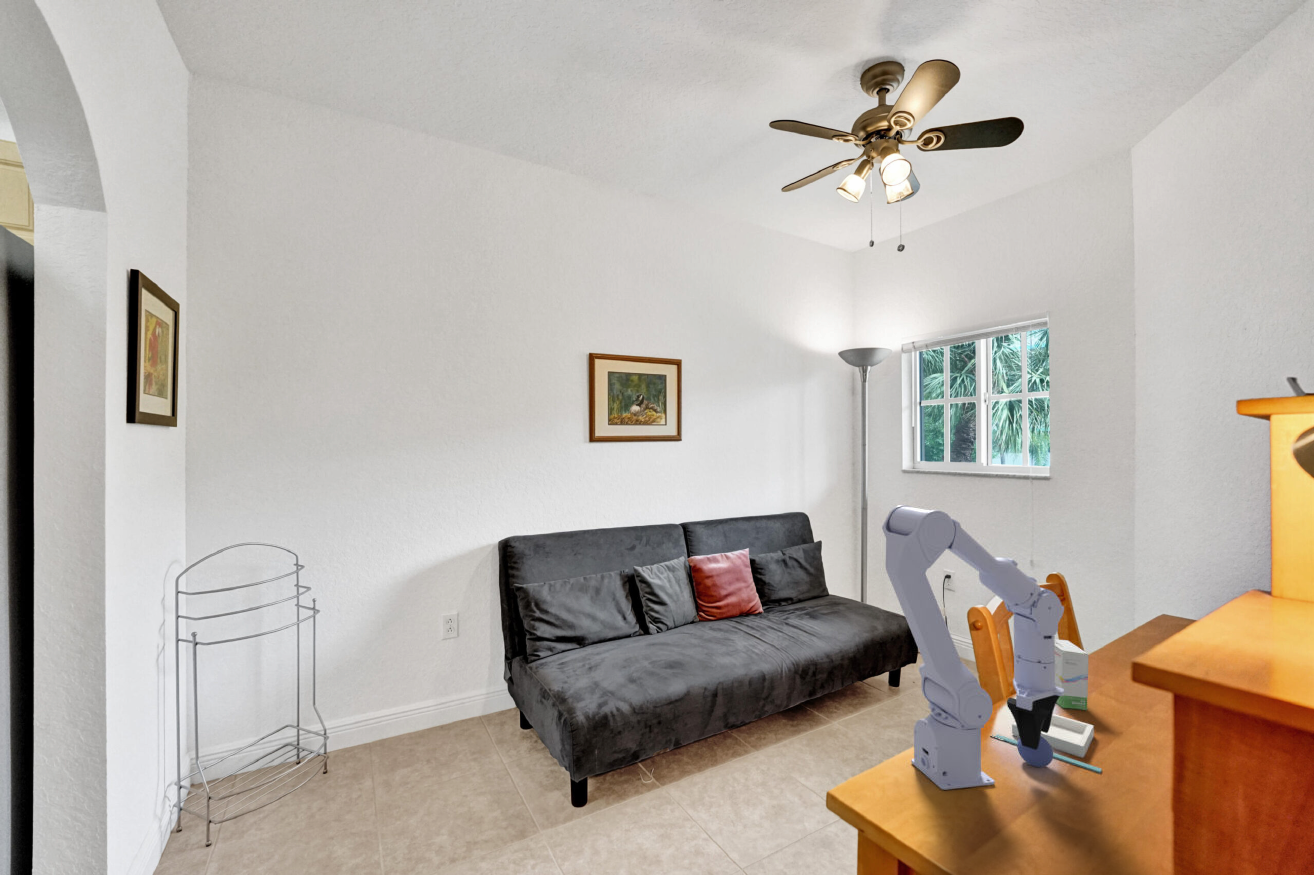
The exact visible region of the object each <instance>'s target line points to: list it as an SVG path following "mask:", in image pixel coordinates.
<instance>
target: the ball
mask: <svg viewBox="0 0 1314 875" xmlns="http://www.w3.org/2000/svg"><path fill="white" fill-rule="evenodd" d="M1017 741H1018V743H1017V745H1016V746H1017V751H1018V754H1019V755H1020V757H1021V758H1022V760H1023V761H1025V763H1027V764H1028V765H1030V766H1033V767H1034V768H1035V767H1036V768H1045V767H1047V766H1048V765H1050V764H1051V763H1052V761H1053V753H1054V751H1053V748H1051V746H1050V744H1049V743H1048V742H1047V740H1045V739H1044V738H1043V737H1041V736H1040V742H1039V746H1038V748H1037V750H1035V749H1032V748H1029V747H1025V746H1023V745H1022V743H1021V740H1020V737H1018V740H1017Z"/></svg>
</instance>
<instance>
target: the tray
mask: <svg viewBox="0 0 1314 875" xmlns="http://www.w3.org/2000/svg"><path fill="white" fill-rule="evenodd" d="M1094 726H1095V725H1094V724H1093V725H1092V724H1090V723H1087V722H1083V721H1079V720H1076V719H1072V718H1069V717H1066V716H1061V715H1058V714H1055V713H1053V714H1052V719H1051V724H1050V728H1049V731H1048V733H1045V732H1042V731H1041V737H1043V738H1044V739H1045V740H1047V742H1048V743H1049V744H1050V746H1051V748H1052V749H1054V750H1057V751H1060V752H1064V753H1066V754H1069V755H1073V756H1076V757H1078V758H1082V759H1084V758H1085V756H1086V754H1087V752H1088V749H1089V747H1090V746H1091V743H1092V741H1093V739H1094V737H1095V734H1094V733H1095V731H1094V730H1095V729H1094V728H1095V727H1094ZM1012 734H1013V735H1012ZM1011 735H1012V736H1014V735H1015V736H1014V737H1017V738H1020V737H1019V733H1018V729H1017V725H1016V722H1015V720H1014V721H1013V722H1012V723H1011Z"/></svg>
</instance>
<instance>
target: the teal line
mask: <svg viewBox="0 0 1314 875" xmlns="http://www.w3.org/2000/svg"><path fill="white" fill-rule="evenodd" d="M992 736H993V735H992ZM994 737H997V738H1000V739H1003V740H1004V741H1003V742H1005V741H1007V742H1006V743H1008V742H1010V743H1009V744H1011V743H1012V744H1011V745H1014V746H1017V743H1018V740H1016V739H1014V738H1013V739H1012V738H1010V737H1006V736H1003V735H1000V734H998V735H996V736H994ZM1053 758H1054V759H1056V760H1059V761H1062V762H1066V763H1068V764H1071V765H1073V766H1074V765H1075V766H1078V767H1080V768H1083V769H1085V770H1088V771H1091V772H1095V773H1098V774H1102V768H1101V767H1097V766H1095V765H1092V764H1089V763H1085V762H1082V761H1079V760H1076V759H1073V758H1070V757H1068V756H1064V755H1061V754H1058V753H1054V752H1053Z"/></svg>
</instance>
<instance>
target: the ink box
mask: <svg viewBox="0 0 1314 875" xmlns="http://www.w3.org/2000/svg"><path fill="white" fill-rule="evenodd" d="M1055 685H1056V687H1059V688H1062V689H1064V695H1063V696H1060V697H1059V698H1058V700H1057V702H1056V704H1057V705H1058V706H1059V707H1060V708H1062V709H1072V710H1082V711H1088V691H1089V690H1088V688H1089V653H1087V652H1086V651H1084V650H1083V649H1081V648H1080V647H1079V646H1077V645H1076V644H1074V643H1072V642H1071V641H1070V640H1066V639H1058V638H1056V639H1055Z"/></svg>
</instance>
